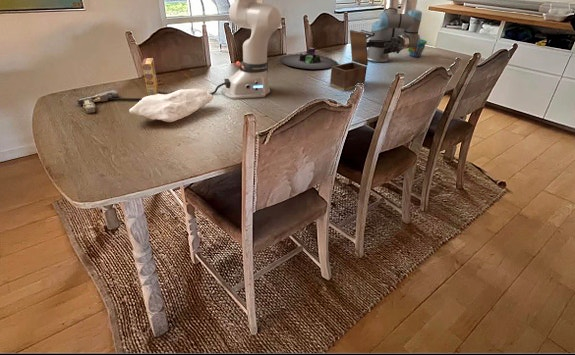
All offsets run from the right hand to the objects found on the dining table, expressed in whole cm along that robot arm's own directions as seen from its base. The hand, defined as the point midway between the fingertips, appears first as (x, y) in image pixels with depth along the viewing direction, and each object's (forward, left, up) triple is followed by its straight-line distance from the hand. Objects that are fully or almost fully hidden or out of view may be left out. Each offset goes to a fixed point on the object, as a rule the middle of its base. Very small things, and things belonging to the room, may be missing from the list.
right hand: (373, 48), depth 189 cm
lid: (+11, -5, +1) cm, 12 cm away
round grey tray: (-14, -42, -17) cm, 47 cm away
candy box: (+77, -80, -17) cm, 112 cm away
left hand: (+11, -5, +21) cm, 24 cm away
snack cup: (-69, +13, -17) cm, 72 cm away
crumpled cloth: (+90, -58, -17) cm, 108 cm away
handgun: (+97, -91, -17) cm, 134 cm away
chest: (+15, -7, -17) cm, 24 cm away
